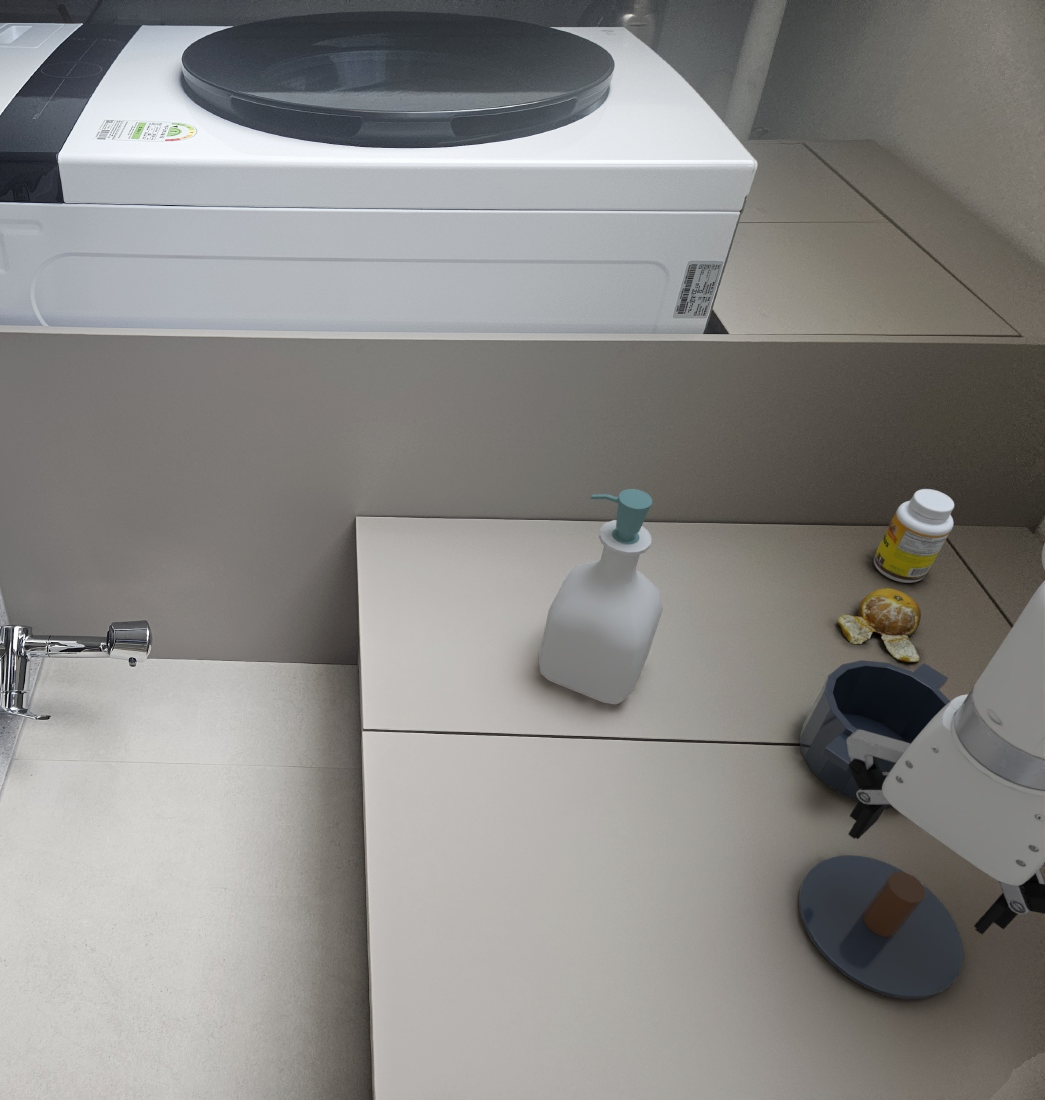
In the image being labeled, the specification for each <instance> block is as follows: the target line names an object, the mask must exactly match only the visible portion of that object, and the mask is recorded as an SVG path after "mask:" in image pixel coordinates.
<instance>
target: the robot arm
mask: <svg viewBox="0 0 1045 1100" xmlns="http://www.w3.org/2000/svg"><path fill="white" fill-rule="evenodd" d="M1041 564H1042V568H1043V570H1044V571H1045V543H1044V544H1043V547H1042V551H1041ZM847 747H848V754H849V757H850V759H851V762H850V763H849V769H850V771H851V773H852V775H853V777H854V779H855V781H856V783H857V786H858V788H859V790H858V791H857V793H856V795H857V798H858V799H859V801H857V803H856V805H855V806H854V807H853V808H852V811H851V813H850V814H849V817H850V818H851V819H853V820H854V821H855V822H854V824H853V825H852V827H851V829H850V830H849V831H848V833H847V834H848V836H849V837H851V838H852V839H854V840H855V839H857V840H859V839H860V838H861V837H862V836H864V834H865V833H866V832H868V830H870V828H872V827H873V826H874V825H875V824H876V823H877V822H878V820H879V819H880V818H881V816H882V815H883V813H884V811H885V810H886V808H887V807H888V806H887V805H892V806H891V807H892V808H894V809H895V810H896V811H898V812H899V813H900V814H901V815H903V816H904V817H905V818H906V819H908V820H910V821H911V822H912V823H914V824H915V825H916V826H918V827H919V828H921V829H922V830H923V831H925V832H926V833H927V834H929V835H930V836H931V837H933V838H935V839H936V840H937V841H939V842H940V843H941V844H943V845H944V846H946V847H947V848H948V849H950V850H951V851H953V852H954V853H956V854H957V855H958V856H960V857H961V858H963V859H964V860H966V861H967V862H969V863H970V865H971V864H972V865H973V866H974V867H975V868H977V869H979V870H980V871H982V872H983V873H984V874H986V875H987V876H989V877H991V878H992V879H995V880H996V881H998V883H999V885H1000V889H1001V891H1002V892H1001V894H1000V895H999V896H998V897H997V898H996V899H995V901H994V902H993V903H992V904H991V906H990V907H989V908H988V909H987V910H986V911H985V912H984V914H982V916H981V917H980V918H979V919H978V920H977V921H976V922H975V924H974V925H973V927H974V928H975V929H974V930H975V931H976V932H978V933H979V934H980V935H981V936H983V935H984V933H986V932H987V930H988V929H989V928H990V927H991V926H992V925H993V924H995V925H996V926H998V927H999V928H1000V929H1002V930H1005V929H1006V928H1007V927H1008V926H1009V925H1010V924H1011V922H1013V920H1015V918H1016V917H1017V916H1019V915H1020V916H1025V915H1027V914H1028V913H1029V912H1033V913H1039V914H1044V915H1045V881H1044V878H1043V875H1042V873H1041V870H1040V869H1041V868H1042V867H1043V866H1045V580H1044V581H1042V583H1041V584H1040V585H1039V587H1038V588H1037V589H1036V591H1035V592H1034V593H1033V594H1032V596H1031V598H1030V600H1029V601H1028V602H1027V604H1026V605H1025V607H1024V609H1023V610H1022V612H1021V613H1020V615H1019V616H1018V618H1017V619H1016V621H1015V622H1014V624H1013V626H1012V627H1011V629H1010V630H1009V632H1008V633H1007V635H1006V636H1005V638H1004V640H1003V641H1002V642H1001V644H1000V646H999V647H998V648H997V650H996V652H995V653H994V655H993V656H992V657H991V659H990V661H989V662H988V664H987V666H986V667H985V669H984V670H983V672H982V673H981V674H980V676H979V678H978V679H977V681H976V682H975V684H974V685H973V686H972V688H971V689H970V691H969V692H968V693H967V694H961V695H958V696H956V697H955V698H953V699H952V700H950V702H949V703H948V704H947V705H946V706H944V707H943V708H942V709H941V710H940V711H939V712H938V713H937V714H936V715H935V716H934V717H933V718H932V720H931V721H930V722H929V723H928V724H927V725H926V726H925V728H924V729H923V730H922V731H921V732H920V733H919V735H918V736H917V737H916V738H915V739H914V741H913V742H912V743H907V742H903V741H900V740H896V739H893V738H889V737H886V736H882V735H879V734H875V733H871V732H868V731H864V730H860V729H858V730H856V731H855V732H854V733H852V734H851V735H850V736H849V737H848V738H847ZM875 757H877V758H880V759H884V760H887V761H890V762H894V763H896V764H895V765H894V767H893V768H892V770H891V771H890V772H882V771H881V769H880V767H879V765H878V763H877V761H876V759H875Z"/></svg>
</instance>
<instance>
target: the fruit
mask: <svg viewBox="0 0 1045 1100" xmlns="http://www.w3.org/2000/svg"><path fill="white" fill-rule="evenodd" d="M921 613H922V612H921V608H920V606H919V604H918V603H917V602H916V600H914V599H913V598H912V597H911V596H910V595H909V594H906V593H905V592H903V591H900V590H897V589H895V588H888V587H886V588H880V589H875V590H873V591H872V592H871V593H868V594H867V595H866V596H865V597H864V598H863V599H862V600H861V601H860V605H859V608H858V613H857V616H854V615H849V614H842V615H840V616H839V617H838V618H837V624H838V626H840V629H841V632H842V635H843V637H845V638H846V639H847V641H848V642H849V643H850V644H853V645H862V644H863V643H864V642H866V641H869V639H871V636H872V634H873V633H874V632H875V633H878V634H880V635H881V637H880V638H881V640H882V641H883V644H884V646H885V647H886V651H888V653H889V654H890V655H891V656H892V657H893V658H895V659H896V660H899V661H902V662H910V663H912V662H915V663H916V662H919V661H920V655H919V654H918V651H917V649H916V646H915V644H913V642H911V640H910V635H912V634H914V633H915V632H916V631H917V629H918V627H919V626H920V622H921V617H922V614H921Z"/></svg>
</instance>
